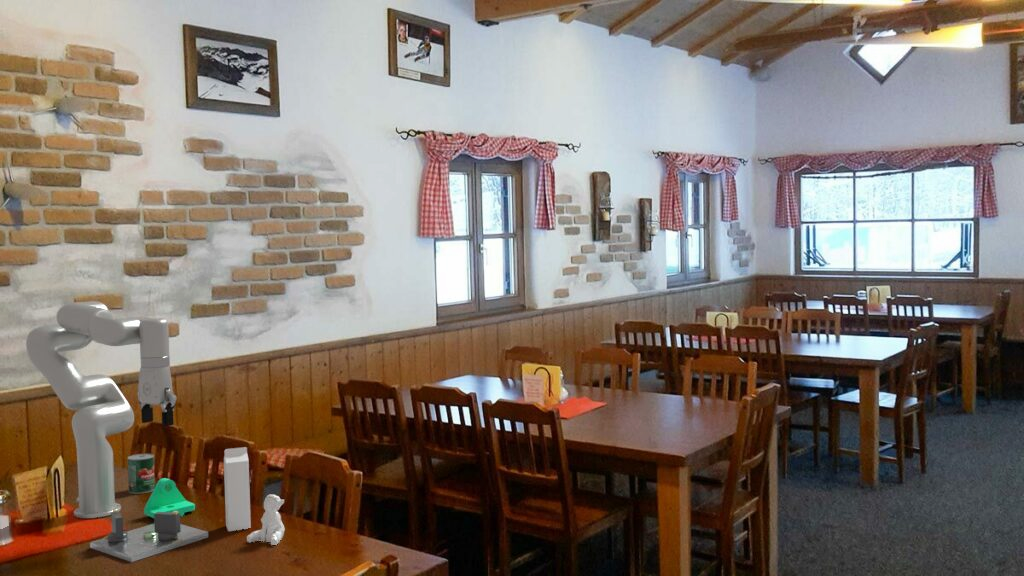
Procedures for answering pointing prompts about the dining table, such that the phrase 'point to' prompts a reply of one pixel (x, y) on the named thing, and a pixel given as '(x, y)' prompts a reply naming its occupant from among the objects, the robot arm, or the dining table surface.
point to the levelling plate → (147, 542)
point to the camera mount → (167, 499)
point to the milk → (237, 489)
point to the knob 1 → (117, 528)
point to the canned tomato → (141, 473)
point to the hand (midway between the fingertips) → (157, 423)
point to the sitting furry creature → (270, 522)
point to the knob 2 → (167, 525)
